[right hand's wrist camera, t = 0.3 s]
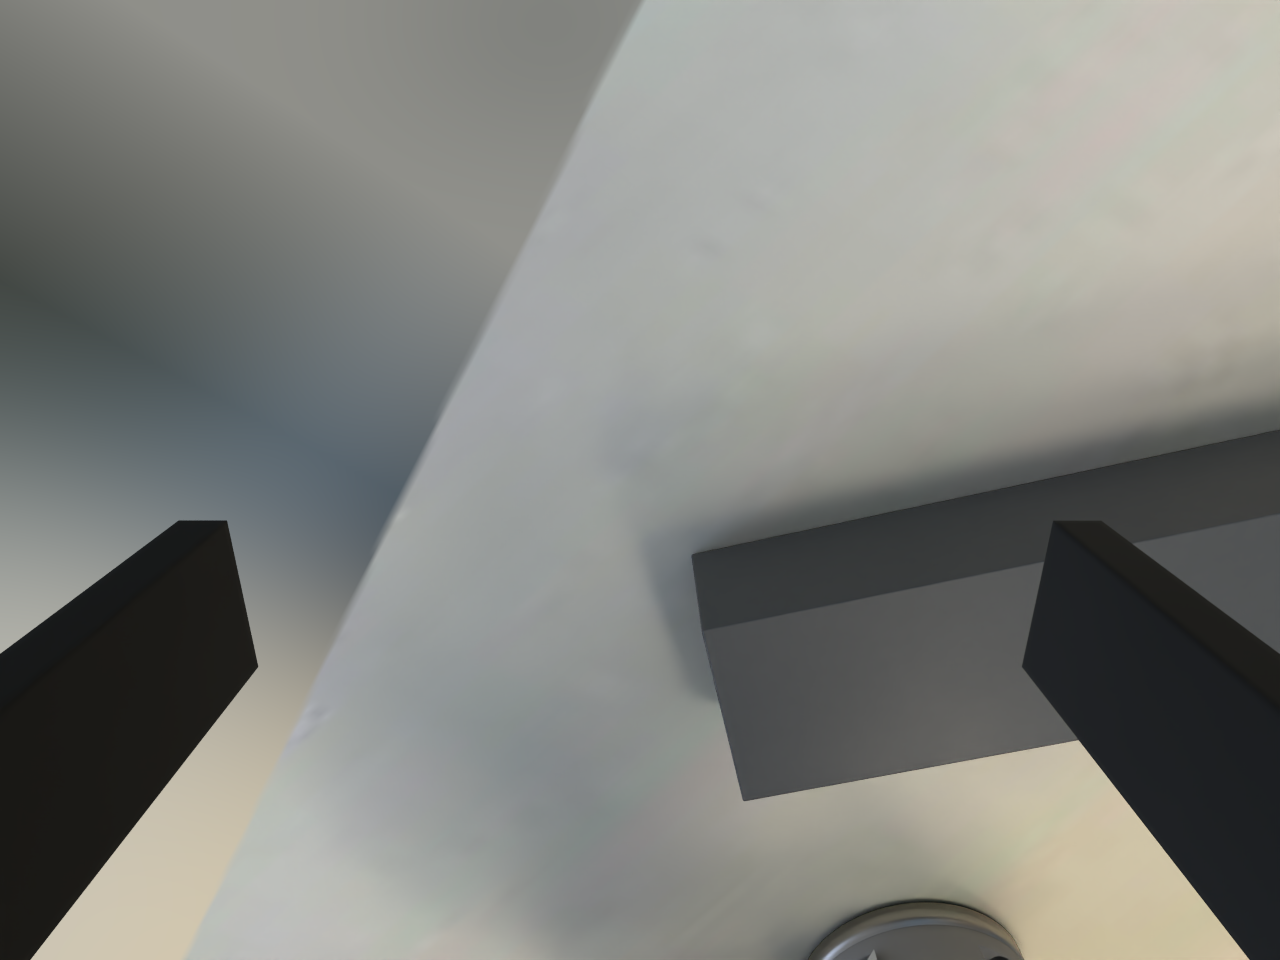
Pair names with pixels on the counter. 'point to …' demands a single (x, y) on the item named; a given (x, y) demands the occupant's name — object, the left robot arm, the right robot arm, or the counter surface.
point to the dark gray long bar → (956, 613)
